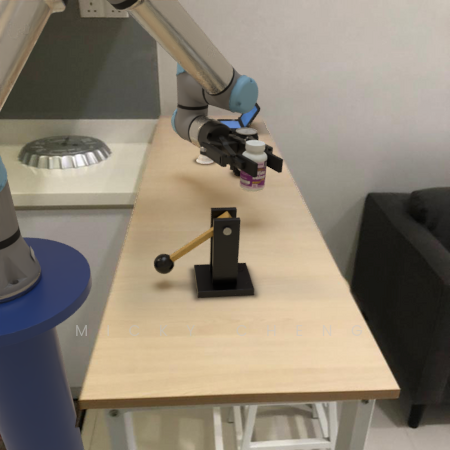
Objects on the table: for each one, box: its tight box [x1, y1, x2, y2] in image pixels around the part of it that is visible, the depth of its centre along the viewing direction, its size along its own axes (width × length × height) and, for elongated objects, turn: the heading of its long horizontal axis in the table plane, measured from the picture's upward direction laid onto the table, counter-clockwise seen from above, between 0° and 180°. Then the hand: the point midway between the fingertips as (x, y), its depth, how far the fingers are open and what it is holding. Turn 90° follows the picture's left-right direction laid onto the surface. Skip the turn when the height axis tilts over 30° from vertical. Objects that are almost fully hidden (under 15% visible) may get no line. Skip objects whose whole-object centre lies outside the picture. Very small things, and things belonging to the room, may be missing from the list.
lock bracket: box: [193, 206, 255, 298], centre depth 82 cm, size 10×9×14 cm
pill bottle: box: [239, 140, 268, 193], centre depth 97 cm, size 5×5×10 cm
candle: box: [195, 153, 215, 165], centre depth 135 cm, size 5×5×12 cm
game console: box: [216, 101, 261, 135], centre depth 164 cm, size 16×14×9 cm
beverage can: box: [232, 127, 260, 178], centre depth 127 cm, size 7×7×12 cm
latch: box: [153, 211, 232, 275], centre depth 80 cm, size 16×4×4 cm
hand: (268, 168), depth 93 cm, fingers closed on pill bottle, 5 cm apart
